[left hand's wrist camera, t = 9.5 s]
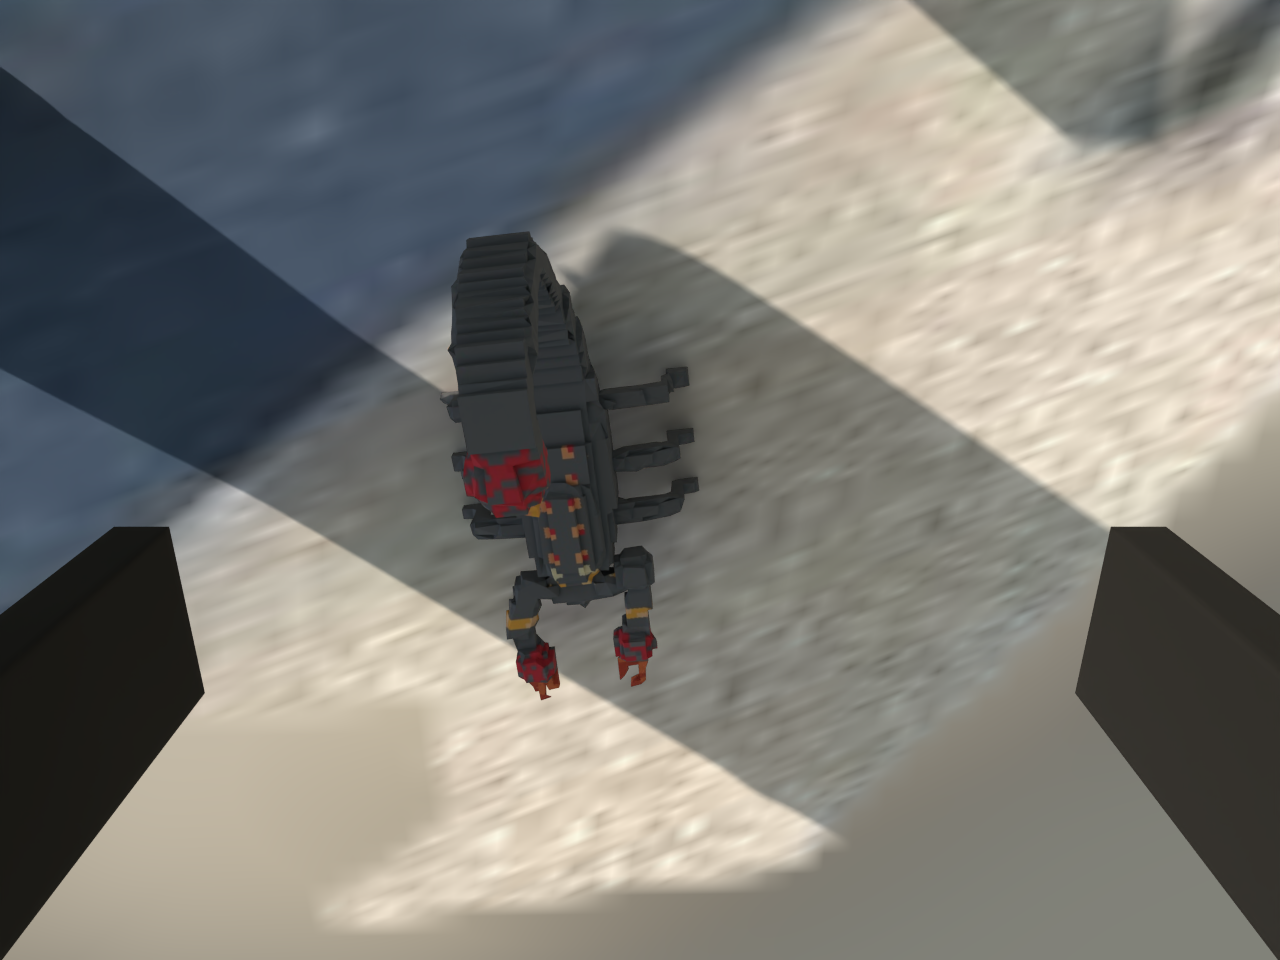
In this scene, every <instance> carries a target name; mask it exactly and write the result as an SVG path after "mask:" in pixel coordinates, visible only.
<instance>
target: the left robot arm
mask: <svg viewBox="0 0 1280 960" xmlns="http://www.w3.org/2000/svg"><path fill="white" fill-rule="evenodd" d="M204 693H205V692H204V687H203V682H202V678H201V673H200V669H199V664H198V659H197V655H196V650H195V645H194V641H193V636H192V631H191V627H190V622H189V617H188V613H187V608H186V603H185V599H184V594H183V589H182V585H181V580H180V576H179V571H178V566H177V562H176V557H175V552H174V548H173V543H172V538H171V534H170V529H169V527H113V528H112V529H111V530H109V531H108V532H107V533H105V534H104V535H103V536H102V537H100V538H99V539H98V540H96V541H95V542H94V543H93V544H91V545H90V546H89V547H87V548H86V549H85V550H83V551H82V552H81V553H80V554H78V555H77V556H76V557H74V558H73V559H72V560H71V561H69V562H68V563H67V564H65V565H64V566H63V567H61V568H60V569H59V570H58V571H56V572H55V573H54V574H52V575H51V576H50V577H49V578H47V579H46V580H45V581H43V582H42V583H41V584H39V585H38V586H37V587H36V588H34V589H33V590H32V591H30V592H29V593H28V594H27V595H25V596H24V597H23V598H21V599H20V600H19V601H17V602H16V603H15V604H14V605H12V606H11V607H10V608H8V609H7V610H6V611H5V612H3V613H2V614H1V615H0V960H2V959H3V958H4V956H5V955H6V954H7V953H8V951H9V950H10V949H11V947H12V946H13V945H14V943H15V942H16V941H17V939H18V938H19V937H20V935H21V934H22V933H23V932H24V930H25V929H26V928H27V926H28V925H29V924H30V922H31V921H32V920H33V918H34V917H35V916H36V914H37V913H38V912H39V910H40V909H41V908H42V907H43V905H44V904H45V902H46V901H47V900H48V899H49V897H50V896H51V895H52V893H53V892H54V891H55V889H56V888H57V887H58V885H59V884H60V883H61V882H62V880H63V879H64V878H65V876H66V875H67V874H68V872H69V871H70V870H71V868H72V867H73V866H74V864H75V863H76V862H77V860H78V859H79V858H80V857H81V855H82V854H83V853H84V851H85V850H86V849H87V847H88V846H89V845H90V843H91V842H92V841H93V839H94V838H95V837H96V835H97V834H98V833H99V832H100V830H101V829H102V828H103V826H104V825H105V824H106V822H107V821H108V820H109V818H110V817H111V816H112V814H113V813H114V812H115V810H116V809H117V808H118V806H119V805H120V804H121V803H122V801H123V800H124V799H125V797H126V796H127V795H128V793H129V792H130V791H131V789H132V788H133V787H134V785H135V784H136V783H137V781H138V780H139V779H140V778H141V776H142V775H143V774H144V772H145V771H146V770H147V768H148V767H149V766H150V764H151V763H152V762H153V760H154V759H155V758H156V756H157V755H158V754H159V753H160V751H161V750H162V748H163V747H164V746H165V745H166V743H167V742H168V741H169V739H170V738H171V737H172V735H173V734H174V733H175V731H176V730H177V729H178V728H179V726H180V725H181V724H182V722H183V721H184V720H185V718H186V717H187V716H188V714H189V713H190V712H191V710H192V709H193V708H194V706H195V705H196V704H197V703H198V701H199V700H200V699H201V697H202V696H203V695H204ZM1075 693H1076V695H1077V696H1078V697H1079V699H1080V700H1081V701H1082V703H1083V704H1084V705H1085V706H1086V708H1087V709H1088V710H1089V712H1090V713H1091V714H1092V716H1093V717H1094V718H1095V720H1096V721H1097V722H1098V724H1099V725H1100V726H1101V728H1102V729H1103V730H1104V731H1105V733H1106V734H1107V735H1108V737H1109V738H1110V739H1111V741H1112V742H1113V743H1114V745H1115V746H1116V747H1117V748H1118V750H1119V751H1120V753H1121V754H1122V755H1123V757H1124V758H1125V759H1126V760H1127V762H1128V763H1129V764H1130V766H1131V767H1132V768H1133V770H1134V771H1135V772H1136V774H1137V775H1138V776H1139V778H1140V779H1141V780H1142V782H1143V783H1144V784H1145V785H1146V787H1147V788H1148V789H1149V791H1150V792H1151V793H1152V795H1153V796H1154V797H1155V799H1156V800H1157V801H1158V803H1159V804H1160V805H1161V806H1162V808H1163V809H1164V810H1165V812H1166V813H1167V814H1168V816H1169V817H1170V818H1171V820H1172V821H1173V822H1174V824H1175V825H1176V826H1177V828H1178V829H1179V830H1180V832H1181V833H1182V834H1183V835H1184V837H1185V838H1186V839H1187V841H1188V842H1189V843H1190V845H1191V846H1192V847H1193V849H1194V850H1195V851H1196V853H1197V854H1198V855H1199V857H1200V858H1201V859H1202V860H1203V862H1204V863H1205V864H1206V866H1207V867H1208V868H1209V870H1210V871H1211V872H1212V874H1213V875H1214V876H1215V878H1216V879H1217V880H1218V882H1219V883H1220V884H1221V885H1222V887H1223V888H1224V889H1225V891H1226V892H1227V893H1228V895H1229V896H1230V897H1231V899H1232V900H1233V901H1234V903H1235V904H1236V905H1237V907H1238V908H1239V909H1240V910H1241V912H1242V913H1243V914H1244V916H1245V917H1246V918H1247V920H1248V921H1249V922H1250V924H1251V925H1252V926H1253V928H1254V929H1255V930H1256V932H1257V933H1258V934H1259V935H1260V937H1261V938H1262V939H1263V941H1264V942H1265V943H1266V945H1267V946H1268V947H1269V949H1270V950H1271V951H1272V953H1273V954H1274V955H1275V957H1276V958H1277V959H1278V960H1280V615H1279V614H1278V613H1277V612H1275V611H1274V610H1273V609H1271V608H1270V607H1269V606H1268V605H1266V604H1265V603H1264V602H1262V601H1261V600H1260V599H1259V598H1257V597H1256V596H1255V595H1253V594H1252V593H1251V592H1250V591H1248V590H1247V589H1246V588H1244V587H1243V586H1242V585H1241V584H1239V583H1238V582H1237V581H1235V580H1234V579H1233V578H1231V577H1230V576H1229V575H1228V574H1226V573H1225V572H1224V571H1222V570H1221V569H1220V568H1219V567H1217V566H1216V565H1215V564H1213V563H1212V562H1211V561H1209V560H1208V559H1207V558H1206V557H1204V556H1203V555H1202V554H1200V553H1199V552H1198V551H1197V550H1195V549H1194V548H1193V547H1191V546H1190V545H1189V544H1187V543H1186V542H1185V541H1184V540H1182V539H1181V538H1180V537H1178V536H1177V535H1176V534H1175V533H1173V532H1172V531H1171V530H1169V529H1168V528H1167V527H1111V529H1110V534H1109V538H1108V543H1107V548H1106V552H1105V557H1104V562H1103V566H1102V571H1101V576H1100V580H1099V585H1098V589H1097V594H1096V599H1095V603H1094V608H1093V613H1092V617H1091V622H1090V627H1089V631H1088V636H1087V641H1086V645H1085V650H1084V655H1083V659H1082V664H1081V669H1080V673H1079V678H1078V683H1077V687H1076V692H1075Z"/></svg>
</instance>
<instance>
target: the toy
mask: <svg viewBox="0 0 1280 960" xmlns="http://www.w3.org/2000/svg"><path fill="white" fill-rule="evenodd" d="M466 242H467V249H465V250H464V251H463V253H462V255H461V257H460V262H459V269H458V275H457V280H456V281H455V283H454V284H453V285H452V286H451V287H452V330H451V341H452V343H451V345H450V347H449V349H448V352H449V353H450V355H451V356H452V358H453V362H454V365H455V369H456V374H457V381H458V391H454V392H445V393H441V398H440V400H441V401H442V402H443V403H445V404H448V406H447V410H448V413H449V416H450V418H451V419H452V420H453V421H454V422H455V423H457V422H462V426H463V431H464V436H465V442H466V447H467V452H458V453H453V455H452V462H453V467H454V471H461V473H462V479H463V480H464V485H465V490H466V495H467V496H471V497H475V498H477V499H478V500H479V502H480V503H481V504H473V505H464V506H463V509H462V512H463V517H464V519H473V520H472V522H471V524H470V527H471V530H472V533H473V535H474V536H475V537H476V538H477V539H506V538H525V537H526V542H527V548H528V554H529V558H535V562H536V568H537V570H534V571H521V576H517V577H516V580H515V585H514V586H513V595H514V598H513V599H509V610H507V613H506V631H507V639H513V640H514V642H515V645H516V648H517V650H518V653H517V659H516V665H517V670H518V676H519V677H520V678H522V679H524V680H525V681H526V683H530V684H531V685H532V686H533V687H534V689H535V691H539V693H540V698H541V700H543V699H546V698H549V697H551V696H548V695H546V685H547V687H548V689H549V690H551V689H555V688H559V686H560V681H559V674H558V668H557V662H556V653H555V647H549V644H548V643H545V642H544V641H543V640H542V639H541V638H540V637H539V636H538V635H537V634H536V630H535V626H536V624H537V622H538V620H539V616H538V612H539V610H540V608H541V606H542V604H541V600H540V599H552V601H553V604H555V603H567V605H576V604H580V605H582V606H583V607H585V608H586V606H587V605H588V604H589V602H590V601H591V600H595V599H600V598H606V597H612V596H615V595H617V594H619V593H622V592H624V591H626V590H628V592H625V608H626V614H625V615H623V616H622V626H620V627H618V628H616V629H615V630H614V636H613V640H614V647H615V654H616V657H617V656H619V657H618V666H619V674H620V680H621V679H622V678H623V677H624V676H625V674H626V673H627V671H628V669H629V668H628V666H630V665H637V664H638V665H639V674H637V675H635V676H633V677H631V687H632V686H635V685H639V684H642V683H643V682H644V681H645V680H646V666H647V663H648V658H650V657H652V649H656V648H657V641H656V638H655V637H654V635H653V634H652V632H651V629H650V621H649V614H648V610H650V609H652V608H653V603H652V595H651V586H650V585H652V584H653V583H654V582H655V579H654V565H653V557H652V555H651V554H650V553H649V552H647V551H646V550H645V548H644V547H643V546H636V547H630V548H624V549H623V551H622V552H621V553H620V554H619V555H614V550H615V547H614V542H617V524H624V523H632V522H641V521H647V520H652V519H657V518H662V517H667V516H671V515H673V514H675V513H678V512H680V511H681V508H682V505H683V502H684V494H687V493H693V492H696V491H699V487H698V477H694V478H686V479H679V480H675V481H672V487H671V492H669V493H666V494H662V495H654V496H645V497H636V498H629V499H623V498H620V497H618V484H617V476H616V471H639V470H641V469H643V468H647V467H655V466H662V465H666V464H669V463H671V462H674V461H676V460H678V459H680V448H679V445H682V444H687V443H691V442H695V441H694V432H693V428H690V429H680V430H671V431H667V439H668V441H667V442H652V443H646V444H639V445H632V446H625V447H622V448H619V449H616V450H614V451H613V445H612V438H611V430H610V423H609V415H608V410H607V409H611V410H613V409H621V408H629V407H637V406H644V405H652V404H658V403H665V402H669V393H670V392H674V388H679V387H685V386H689V378H688V367H680V368H671V369H666V374H665V375H663V376H661V382H655V383H649V384H643V385H636V386H627V387H618V388H609V389H603V390H600V389H599V384H598V380H597V377H596V374H595V371H594V369H593V367H592V365H591V363H590V360H589V357H588V352H587V346H586V340H585V336H584V332H583V328H582V325H581V323H580V321H579V318H578V317H575V315H574V311H573V309H572V305H571V298H570V292H569V291H568V289H567V288H566V287H565V285H560V284H559V283H558V281H557V280H556V277H555V274H554V272H553V269H552V266H551V264H550V261H549V259H548V256H547V254H546V253H545V252H544V251H543V250H542V249H541V248H540V247H539V246H538V245H537V244H536V242H534V241H533V238H532V237H531V236H530V232H520V233H511V234H502V235H493V236H485V237H476V238H469V239H467V240H466ZM491 512H493V514H494V515H491ZM612 563H614V567H610V565H611V564H612Z"/></svg>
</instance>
